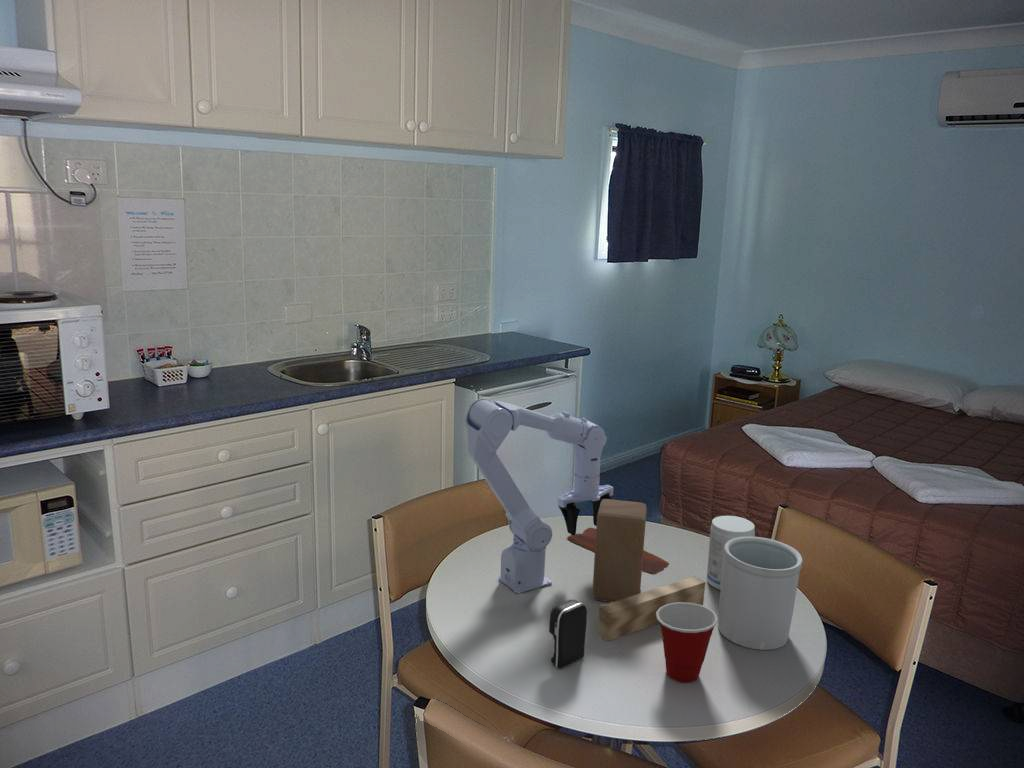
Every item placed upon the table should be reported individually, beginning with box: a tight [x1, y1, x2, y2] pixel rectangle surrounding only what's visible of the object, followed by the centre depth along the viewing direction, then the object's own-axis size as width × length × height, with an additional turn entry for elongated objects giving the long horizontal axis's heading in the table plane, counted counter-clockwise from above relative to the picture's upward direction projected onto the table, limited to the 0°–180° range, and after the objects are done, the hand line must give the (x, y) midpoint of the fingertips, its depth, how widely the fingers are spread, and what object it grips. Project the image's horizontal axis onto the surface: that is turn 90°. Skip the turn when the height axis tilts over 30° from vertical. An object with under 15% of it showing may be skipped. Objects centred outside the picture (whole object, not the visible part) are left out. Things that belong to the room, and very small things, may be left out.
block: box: [591, 498, 648, 603], centre depth 170 cm, size 10×10×20 cm
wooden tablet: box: [566, 527, 670, 575], centre depth 193 cm, size 27×10×2 cm, turn 44°
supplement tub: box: [706, 515, 756, 591], centre depth 177 cm, size 10×10×15 cm
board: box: [597, 575, 706, 642], centre depth 161 cm, size 26×3×6 cm, turn 123°
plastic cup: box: [656, 602, 718, 684], centre depth 143 cm, size 11×11×12 cm
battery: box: [548, 599, 588, 670], centre depth 146 cm, size 7×4×11 cm, turn 131°
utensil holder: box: [717, 536, 803, 651], centre depth 157 cm, size 15×15×18 cm
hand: (584, 529), depth 180 cm, fingers open, 7 cm apart
